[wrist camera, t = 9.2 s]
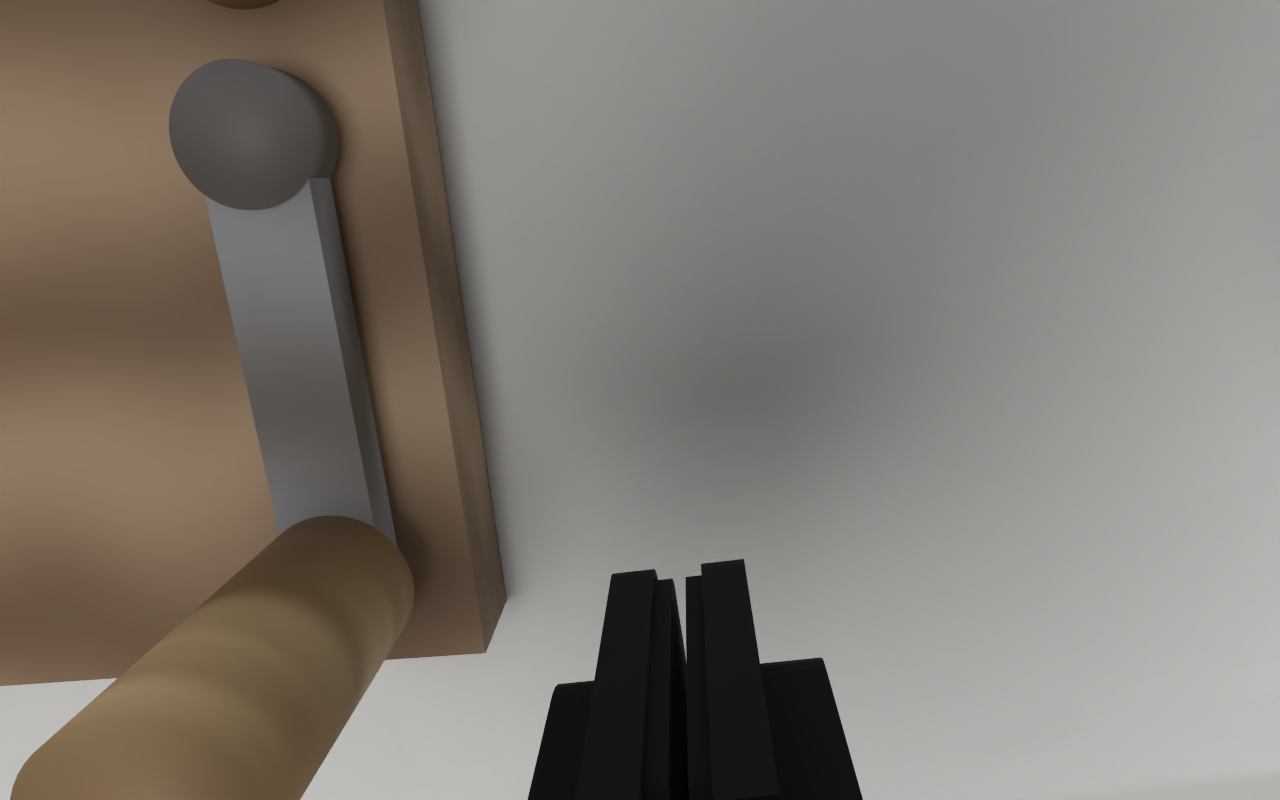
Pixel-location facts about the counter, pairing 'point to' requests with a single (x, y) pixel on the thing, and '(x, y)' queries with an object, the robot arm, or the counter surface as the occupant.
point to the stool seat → (208, 329)
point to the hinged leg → (298, 483)
